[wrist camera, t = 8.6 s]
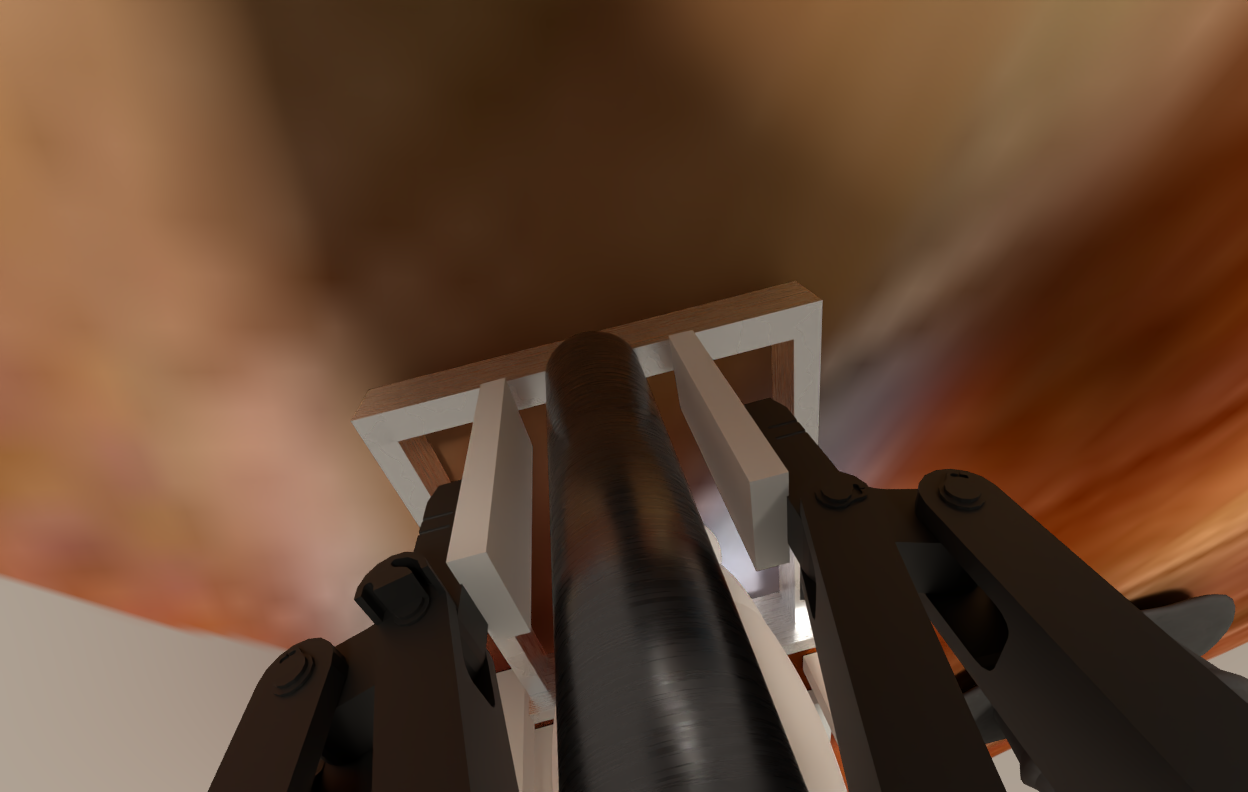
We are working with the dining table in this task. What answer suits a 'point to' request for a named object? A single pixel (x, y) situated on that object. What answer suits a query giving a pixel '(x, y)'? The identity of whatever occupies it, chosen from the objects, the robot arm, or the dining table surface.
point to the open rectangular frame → (536, 744)
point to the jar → (775, 696)
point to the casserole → (1184, 621)
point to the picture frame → (632, 549)
